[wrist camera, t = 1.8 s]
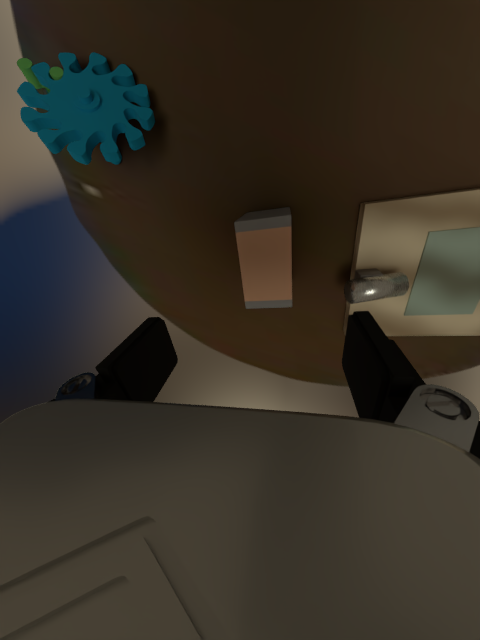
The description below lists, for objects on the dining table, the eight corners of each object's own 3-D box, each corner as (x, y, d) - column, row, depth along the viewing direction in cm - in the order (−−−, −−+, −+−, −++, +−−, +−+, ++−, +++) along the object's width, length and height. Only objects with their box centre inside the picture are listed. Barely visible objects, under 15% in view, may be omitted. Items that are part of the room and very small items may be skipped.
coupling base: (360, 203, 21) (372, 205, 18) (609, 170, 17) (673, 168, 14) (343, 329, 28) (349, 345, 26) (511, 327, 25) (540, 345, 22)
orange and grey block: (247, 212, 23) (234, 222, 17) (289, 206, 22) (291, 214, 16) (254, 282, 27) (245, 308, 21) (290, 279, 26) (292, 307, 20)
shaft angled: (342, 272, 23) (351, 285, 20) (400, 268, 22) (419, 281, 19) (340, 292, 24) (348, 308, 21) (394, 290, 23) (411, 306, 20)
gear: (176, 94, 18) (91, 172, 16) (184, 158, 24) (123, 221, 21) (64, 12, 17) (-38, 81, 15) (100, 98, 23) (30, 156, 21)
